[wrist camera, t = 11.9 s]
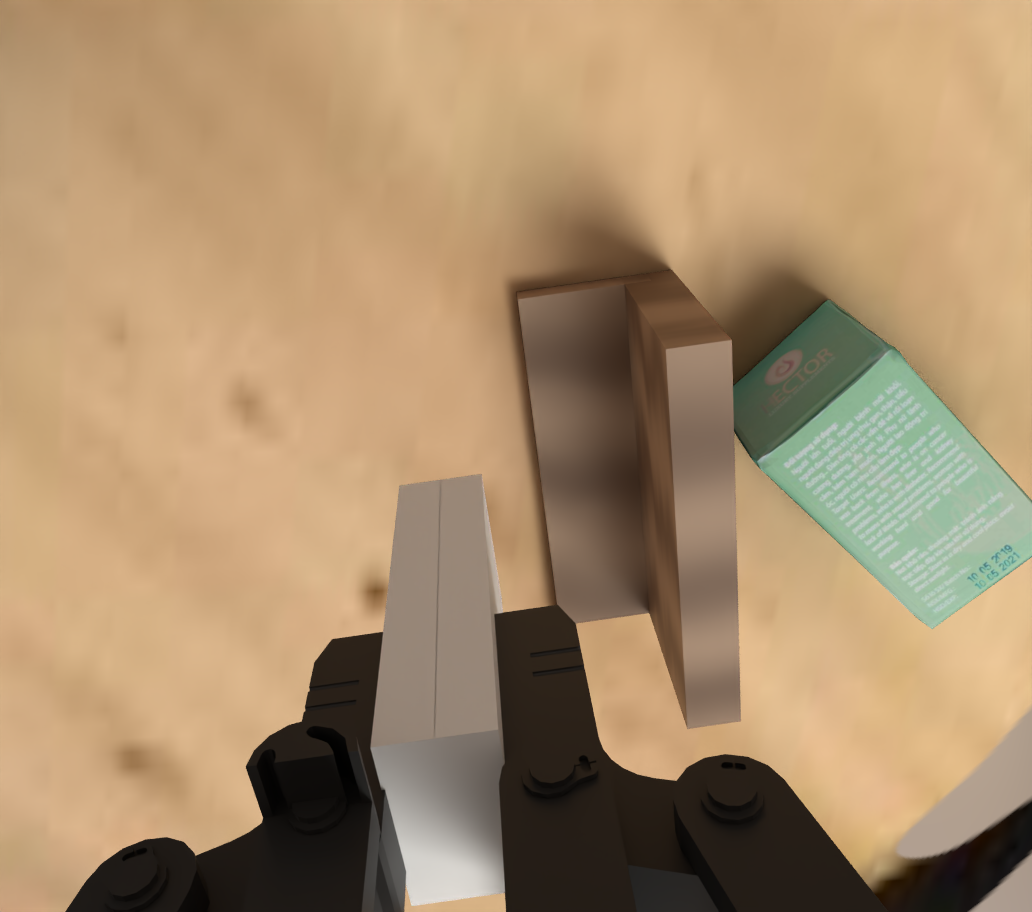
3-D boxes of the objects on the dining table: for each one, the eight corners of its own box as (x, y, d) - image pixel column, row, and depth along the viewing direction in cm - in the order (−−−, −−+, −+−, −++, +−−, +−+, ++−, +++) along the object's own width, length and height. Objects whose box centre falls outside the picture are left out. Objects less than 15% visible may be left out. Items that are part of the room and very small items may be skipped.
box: (824, 289, 43) (891, 342, 36) (982, 461, 48) (1068, 535, 41) (707, 397, 45) (750, 465, 38) (870, 551, 50) (934, 636, 43)
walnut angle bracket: (516, 291, 42) (533, 367, 33) (671, 269, 42) (731, 339, 33) (557, 612, 50) (581, 744, 41) (688, 593, 50) (740, 721, 41)
